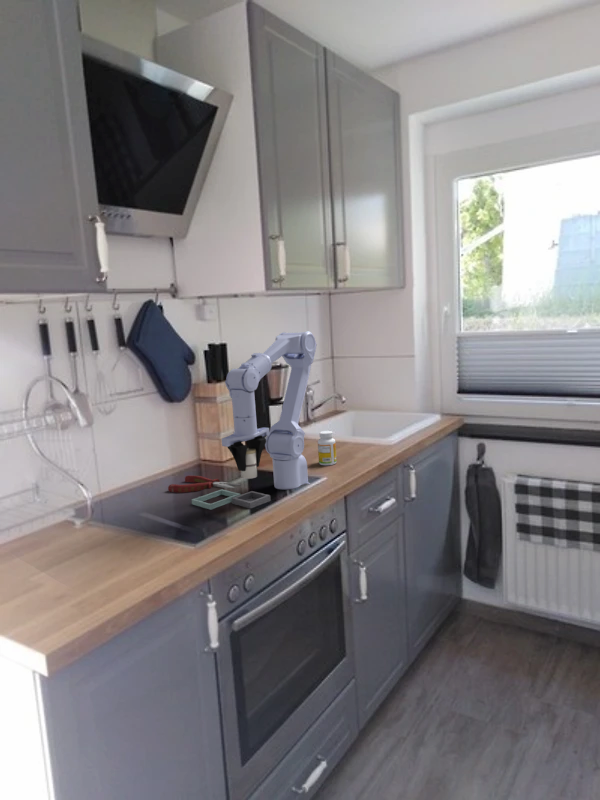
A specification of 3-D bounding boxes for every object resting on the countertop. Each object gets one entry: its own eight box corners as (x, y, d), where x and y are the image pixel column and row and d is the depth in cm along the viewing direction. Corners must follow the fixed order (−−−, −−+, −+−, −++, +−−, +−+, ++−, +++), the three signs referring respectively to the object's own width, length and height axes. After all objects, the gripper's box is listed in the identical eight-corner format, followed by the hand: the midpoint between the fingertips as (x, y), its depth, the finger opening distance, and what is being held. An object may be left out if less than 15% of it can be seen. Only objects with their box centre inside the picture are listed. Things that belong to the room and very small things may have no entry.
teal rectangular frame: (222, 496, 158) (221, 489, 158) (241, 501, 153) (240, 493, 153) (192, 507, 151) (191, 499, 151) (210, 512, 146) (210, 504, 145)
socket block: (252, 498, 154) (251, 491, 154) (270, 503, 150) (270, 495, 149) (232, 506, 149) (231, 498, 149) (250, 511, 145) (250, 503, 144)
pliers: (229, 497, 159) (229, 488, 158) (166, 493, 166) (165, 485, 165) (247, 485, 169) (247, 476, 169) (187, 482, 176) (186, 474, 176)
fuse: (249, 473, 151) (248, 447, 150) (260, 476, 148) (259, 449, 148) (237, 477, 148) (236, 450, 147) (248, 479, 145) (247, 452, 145)
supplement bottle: (329, 460, 189) (328, 429, 188) (340, 463, 185) (338, 431, 183) (315, 463, 186) (313, 432, 185) (325, 466, 182) (323, 434, 180)
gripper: (254, 410, 154) (258, 459, 156) (212, 419, 143) (216, 473, 146) (273, 411, 149) (277, 463, 151) (230, 422, 139) (235, 477, 141)
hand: (248, 468), depth 148 cm, fingers closed on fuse, 4 cm apart
